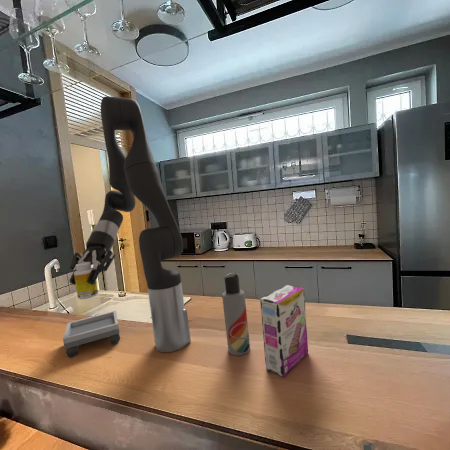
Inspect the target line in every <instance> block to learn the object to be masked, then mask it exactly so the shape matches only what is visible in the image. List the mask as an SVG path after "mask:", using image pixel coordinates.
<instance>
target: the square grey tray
mask: <svg viewBox="0 0 450 450" xmlns="http://www.w3.org/2000/svg"><path fill="white" fill-rule="evenodd" d="M119 327H120V326H119V322H118V314H117V311H116V310H113V311H109V312H106V313H102V314H97V315H93V316H90V317H85V318H82V319H78V320H74V321H71V322H67V325H66V327H65V331H64V334H63V338H62V340H63V348H64V350H66V351H65V356H66V357H68V358H73V357H76V356H77V354H79V353H78V352H79V348H80V347H79V346H81V345H84V344H87V343H91V342H94V341H98V340H100V339H104V338H108V341H109V343H110V344H111V345H115V344H118V343H119V342H120V340H121V334H120V328H119Z"/></svg>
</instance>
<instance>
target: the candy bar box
mask: <svg viewBox="0 0 450 450" xmlns="http://www.w3.org/2000/svg"><path fill="white" fill-rule="evenodd" d="M305 300H306V299H305V288H304V287H299V286H295V285H289V284H286V285H285V286H283V287H281V288H278V289H277V290H274V291H273V292H271V293H269V294H267V295H265V296H263V297H261V298H260V299H259V301H260V313H261V324H262V325H261V326H262V335H263V337H262V338H263V347H264V348H263V350H264V360H265V361H264V363H265V369H266V370H268V371H270V372H272V373H274V374H276V375H277V376H280V377H283V378H285V376H286V375H287V374H288V373H289V372H290V371H291V370H292V369H293V368H294V367H296V365H297V364H298V363H299V362H301V361H302V360H303V358H304V357H306V356H307V354H309V345H308V332H307V331H308V330H307V329H308V328H307V318H306V317H307V316H306V315H307V314H306V301H305Z"/></svg>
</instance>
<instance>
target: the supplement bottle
mask: <svg viewBox="0 0 450 450" xmlns="http://www.w3.org/2000/svg"><path fill="white" fill-rule="evenodd" d="M75 266H76V270H77V271H75V272H74V271H73V272H74V278H75V284H76V285H75V289H76V296H77V299H79V300H87V299H91V298H95V297H96V296H97V295H98V294H99V288H98V284H97V283H98V282H97V280H96V281H95V282H94V284H89V283H88V282H87V279H88V277H89V275H90V273H91V271H92V270H94V269H93V267H92V265H91V262H84V261H83V263H79V264H76V265H75Z"/></svg>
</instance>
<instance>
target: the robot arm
mask: <svg viewBox="0 0 450 450" xmlns="http://www.w3.org/2000/svg"><path fill="white" fill-rule="evenodd" d="M100 116H101V117H100V119H101V124H102V130H103V137H104V143H105V148H106V154H107V159H108V161H107V163H108V177H109V186H110V187H111V188H112V190H110V191H108V192H107V193H106V194H105V197H104V205H103V211H102V214H101V216H100V217H99V220H98V222H97V223H96V224H95V226H94V228H93V230H92V231H91V233H90V236H88V239H87V241H86V245H85V246H86V248H85V250H84V251H83V252H82V253H79V252H75V253H74V255H73V258H72V260H71V263H70V265H69V269H70V270H71V271H73V272H72V274H71V276H70V278H69V283H70V284H72V286H76V284H75V278H74V272H75V271H77V270H76V264H79V263H83V262H91V266H92V265H93V266H92V268H93V269H94V270H92V271H91V273H90V275H89V277H88V279H87V282H88V283H89V284H94V282H95V281H97V279H98V277H99V275H100V274H101V273H102V272H107V271H108V269H109V267H110V266H111V264H112V263H113V260H115V259H114V258H115V257H116V254H115V253H114V252H113V251H111V249H112V248H113V246H114V244H115V241H116V239H117V237H118V234H119V230H120V228H121V225H122V223H123V222H124V216H123V214H122V213H121V212H125V213H130V212H132V211H133V210H134V209H135V208H136V199H137V200H138V201H140V203H142V204H143V205H144V206H145V207H146V209H148V210H149V211H150V212H151V214H152V215H153V216H154V218H155V219H156V222H157V224H158V226H157V227H151V228H150V227H149V228H145V229H142V230H141V232H140V233H139V236H138V237H139V238H138V247H139V253H140V256H141V257H140V258H141V262H142V266H143V267H142V268H143V274H144V279H145V282H146V285H147V293H148V301H149V307H150V308H149V310H150V316H151V322H152V330H153V338H154V344H155V345H154V346H155V349H156V351H159V352H161V353H171V352H176V351H178V350H180V349H183V348H184V347H185V346H186V345H187V344H191V340H192V339H191V332H190V324H189V316H188V310H187V308H186V307H185V301H184V300H185V299H184V294H183V284H182V276H181V273H180V271H178V270H176V269H166V268H164V267H163V266H162V263H161V262H162V261H167V260H169V259H174V258H177V257H179V256H181V255H182V253H183V251H184V242H183V236H182V234H181V231H180V228H179V226H178V223H177V221H176V219H175V216H174V214H173V212H172V210H171V207H170V205H169V201H168V199H167V196H166V193H165V190H164V186H163V184H162V180H161V176H160V173H159V170H158V167H157V163H156V162H155V159H154V155H153V153H152V150H151V146H150V143H149V140H148V136H147V130H146V126H145V122H144V117H143V114H142V111H141V107H140V105H139V103H138V101H137V100H135V99H133V98H129V97H121V96H120V97H118V96H107V95H106V96H103V98H102V99H101V102H100ZM116 131H130V132H131V134H132V143H131V146H130V149H129V150H128V152H127V155H125V153H124V151H123V150H122V148H121V146H120V145H119V143H118V141H117V137H116ZM113 189H114V190H113Z"/></svg>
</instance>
